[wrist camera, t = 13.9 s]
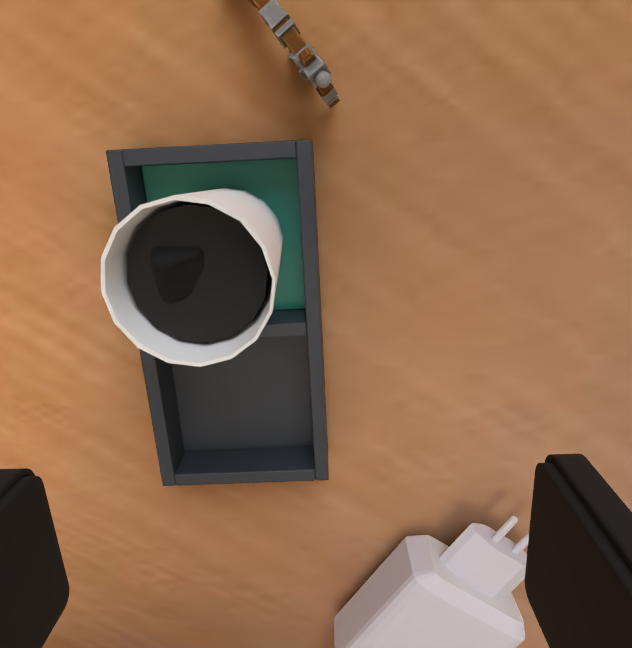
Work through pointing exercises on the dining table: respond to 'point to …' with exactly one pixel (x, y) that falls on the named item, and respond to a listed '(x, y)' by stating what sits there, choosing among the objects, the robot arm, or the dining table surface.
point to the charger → (440, 594)
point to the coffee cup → (194, 274)
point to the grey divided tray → (261, 356)
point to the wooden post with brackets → (298, 49)
